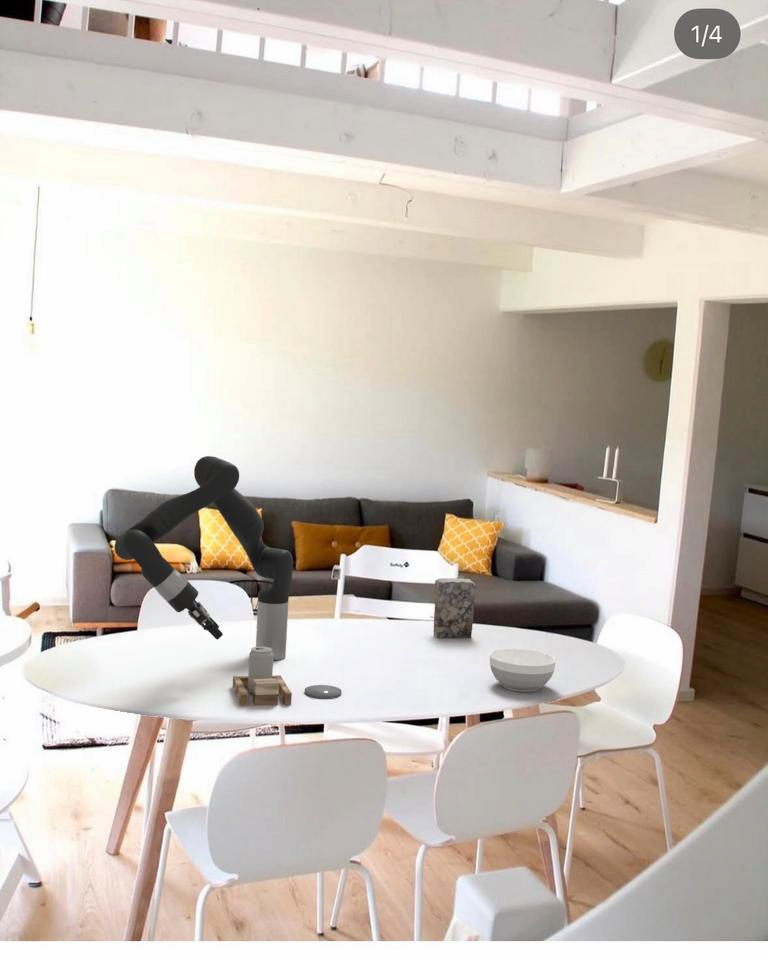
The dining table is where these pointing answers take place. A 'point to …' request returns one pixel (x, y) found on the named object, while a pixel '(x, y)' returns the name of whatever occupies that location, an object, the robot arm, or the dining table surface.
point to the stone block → (454, 608)
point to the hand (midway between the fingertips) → (218, 633)
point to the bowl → (522, 669)
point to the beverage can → (259, 665)
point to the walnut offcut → (265, 699)
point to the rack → (242, 683)
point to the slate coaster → (323, 691)
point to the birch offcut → (265, 686)
